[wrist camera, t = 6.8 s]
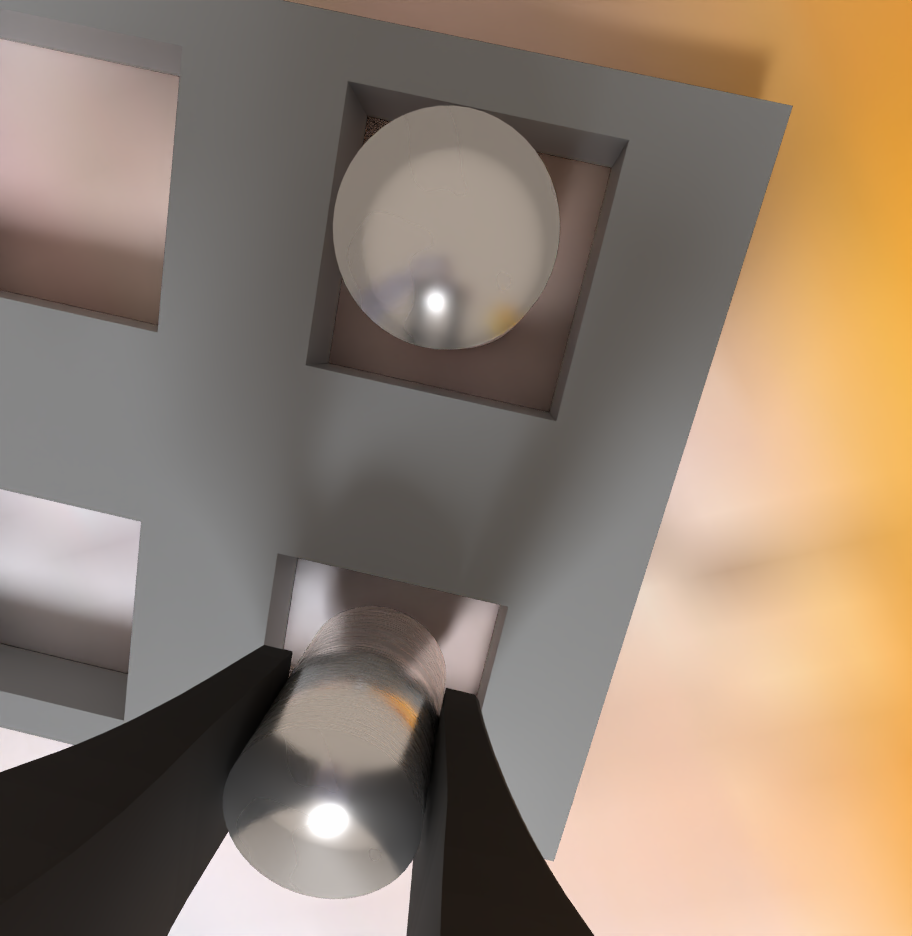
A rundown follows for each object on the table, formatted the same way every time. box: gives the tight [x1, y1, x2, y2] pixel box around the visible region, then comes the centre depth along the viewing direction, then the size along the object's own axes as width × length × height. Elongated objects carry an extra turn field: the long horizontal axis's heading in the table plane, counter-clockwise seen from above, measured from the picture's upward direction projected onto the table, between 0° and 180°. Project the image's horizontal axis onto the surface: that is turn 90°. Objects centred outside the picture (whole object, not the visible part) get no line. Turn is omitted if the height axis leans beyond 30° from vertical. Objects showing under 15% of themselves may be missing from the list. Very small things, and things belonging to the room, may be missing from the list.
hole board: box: [0, 0, 793, 861], centre depth 12 cm, size 18×16×2 cm
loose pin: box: [223, 606, 446, 899], centre depth 11 cm, size 3×3×4 cm
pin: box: [333, 106, 560, 349], centre depth 10 cm, size 3×3×4 cm
